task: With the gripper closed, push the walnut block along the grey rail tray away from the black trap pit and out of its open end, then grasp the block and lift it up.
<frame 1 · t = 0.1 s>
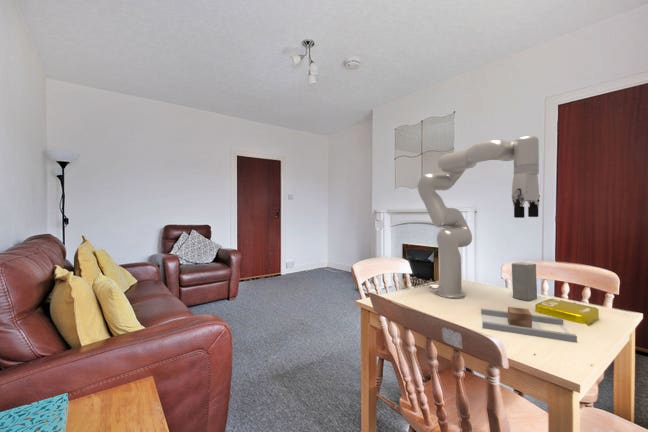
hand: (526, 217, 105), 37 cm above the table, tool pointing down, fingers open, 9 cm apart
walnut block: (519, 325, 95), point 1 cm above the table, touching grey rail tray
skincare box: (524, 298, 128), on the table
grey rail tray: (522, 329, 95), on the table
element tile: (566, 318, 105), on the table
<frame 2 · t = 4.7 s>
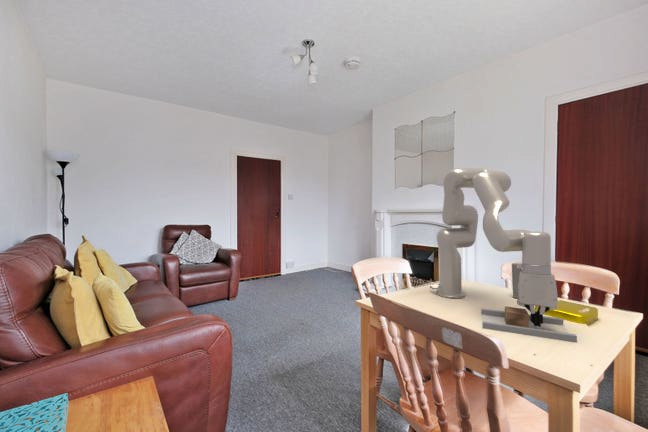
hand: (536, 325, 93), 2 cm above the table, tool pointing down, fingers closed
walnut block: (516, 325, 96), point 1 cm above the table, touching gripper, grey rail tray
everything else where it was.
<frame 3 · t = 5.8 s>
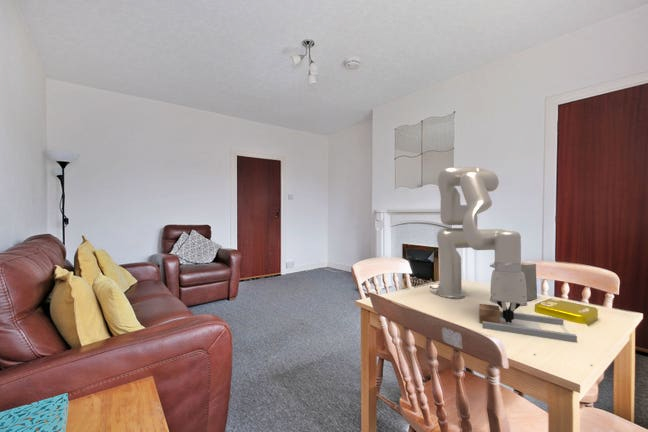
hand: (508, 321, 97), 2 cm above the table, tool pointing down, fingers closed
walnut block: (489, 321, 99), point 1 cm above the table, touching gripper, grey rail tray
everything else where it was.
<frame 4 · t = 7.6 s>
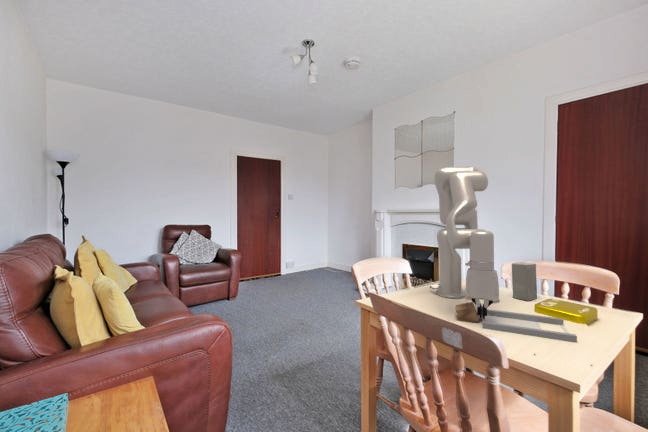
hand: (482, 317, 100), 2 cm above the table, tool pointing down, fingers closed
walnut block: (469, 319, 101), point 1 cm above the table, tilted 19°, touching gripper
everything else where it was.
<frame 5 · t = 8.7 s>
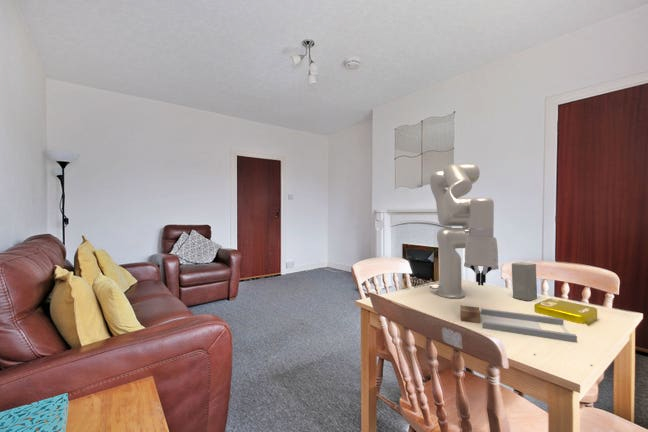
hand: (480, 284, 101), 14 cm above the table, tool pointing down, fingers closed
walnut block: (470, 322, 101), on the table
everything else where it was.
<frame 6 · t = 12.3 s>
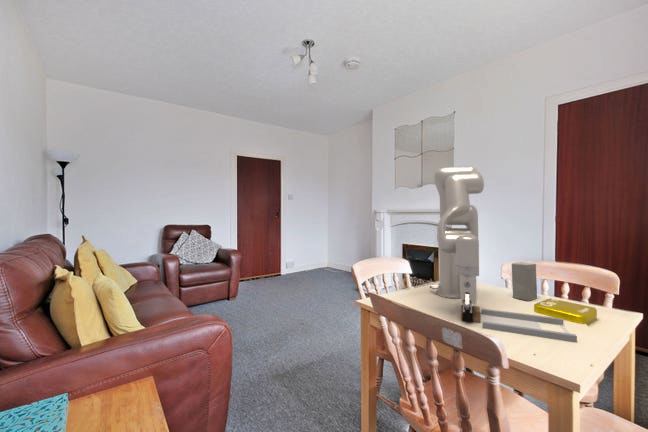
hand: (467, 319, 102), 1 cm above the table, tool pointing down, fingers closed on walnut block, 6 cm apart
walnut block: (470, 322, 102), on the table, touching gripper
everything else where it was.
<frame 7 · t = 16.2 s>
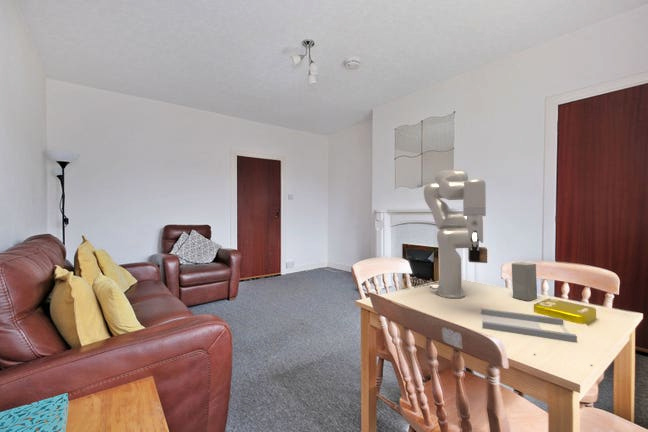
hand: (474, 259, 108), 22 cm above the table, tool pointing down, fingers closed on walnut block, 6 cm apart
walnut block: (477, 261, 108), point 21 cm above the table, touching gripper
everything else where it was.
at the end: the gripper is holding walnut block; walnut block point 20.8 cm above the table; walnut block touching gripper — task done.
